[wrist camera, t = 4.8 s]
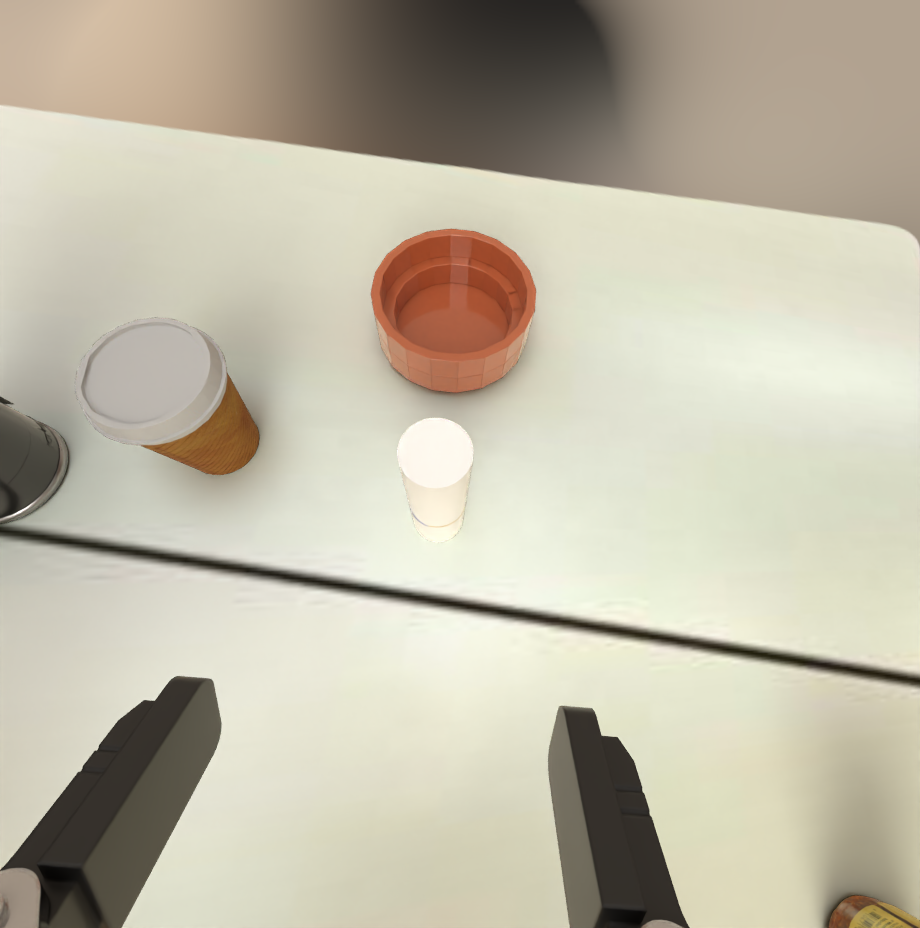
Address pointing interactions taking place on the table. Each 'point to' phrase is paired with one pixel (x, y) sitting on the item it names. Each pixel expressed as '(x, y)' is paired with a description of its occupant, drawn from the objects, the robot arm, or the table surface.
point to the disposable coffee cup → (167, 395)
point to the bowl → (453, 309)
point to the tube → (436, 475)
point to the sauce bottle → (870, 915)
